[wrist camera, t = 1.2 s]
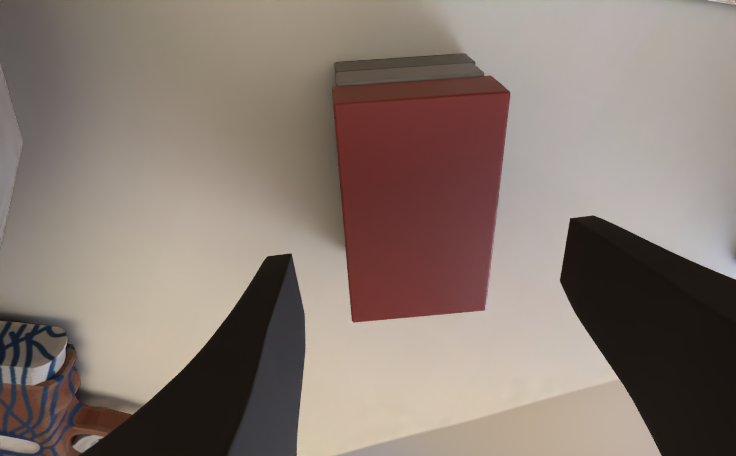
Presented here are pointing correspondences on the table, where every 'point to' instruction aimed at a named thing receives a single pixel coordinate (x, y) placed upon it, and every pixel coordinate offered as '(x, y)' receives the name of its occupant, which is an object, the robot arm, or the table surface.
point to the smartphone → (726, 1)
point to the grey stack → (405, 69)
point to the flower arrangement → (7, 152)
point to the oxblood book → (419, 193)
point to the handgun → (45, 395)
